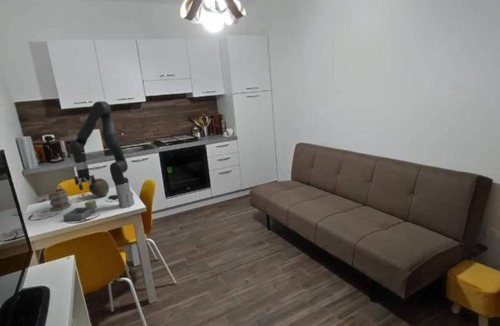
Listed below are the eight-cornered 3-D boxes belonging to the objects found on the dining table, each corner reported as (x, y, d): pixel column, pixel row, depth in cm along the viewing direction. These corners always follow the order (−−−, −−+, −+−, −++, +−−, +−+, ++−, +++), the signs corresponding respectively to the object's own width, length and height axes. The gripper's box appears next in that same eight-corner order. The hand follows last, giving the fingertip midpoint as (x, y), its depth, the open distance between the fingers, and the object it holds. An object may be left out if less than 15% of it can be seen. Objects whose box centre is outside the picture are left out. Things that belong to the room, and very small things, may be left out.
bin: (94, 212, 213) (93, 207, 212) (82, 220, 200) (80, 214, 199) (77, 213, 215) (76, 207, 214) (64, 221, 202) (62, 215, 201)
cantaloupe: (107, 192, 258) (103, 175, 254) (112, 195, 248) (108, 178, 244) (89, 197, 249) (85, 180, 245) (94, 200, 239) (90, 182, 235)
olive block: (97, 207, 222) (95, 200, 220) (92, 210, 217) (90, 202, 216) (90, 208, 223) (89, 200, 221) (86, 210, 218) (84, 203, 216)
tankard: (68, 209, 225) (63, 190, 222) (49, 212, 222) (44, 193, 218) (74, 200, 244) (70, 183, 240) (57, 203, 240) (52, 186, 237)
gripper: (94, 166, 215) (99, 187, 219) (76, 167, 217) (81, 188, 221) (87, 168, 208) (92, 191, 212) (69, 169, 210) (74, 191, 214)
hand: (87, 189), depth 216 cm, fingers open, 8 cm apart
